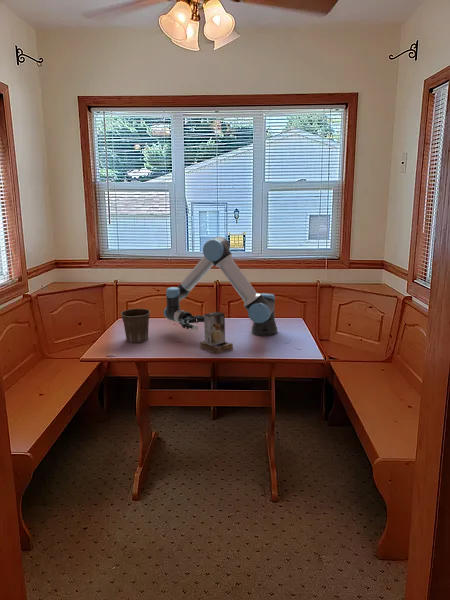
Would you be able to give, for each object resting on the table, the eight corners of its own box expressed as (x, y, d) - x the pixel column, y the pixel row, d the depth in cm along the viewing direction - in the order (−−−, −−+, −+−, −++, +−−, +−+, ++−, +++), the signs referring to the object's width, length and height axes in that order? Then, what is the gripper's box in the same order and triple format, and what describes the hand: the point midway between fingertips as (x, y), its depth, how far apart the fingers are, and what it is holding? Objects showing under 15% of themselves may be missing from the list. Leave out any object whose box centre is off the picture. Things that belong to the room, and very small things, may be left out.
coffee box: (218, 339, 239) (218, 311, 235) (225, 342, 234) (225, 313, 230) (204, 343, 234) (203, 313, 230) (211, 346, 229) (210, 316, 225)
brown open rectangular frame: (215, 342, 244) (215, 337, 243) (233, 349, 233) (233, 343, 232) (199, 346, 237) (198, 341, 236) (217, 354, 226) (217, 348, 225)
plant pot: (145, 345, 240) (143, 316, 236) (117, 343, 243) (115, 315, 240) (155, 336, 256) (154, 309, 252) (129, 334, 259) (128, 308, 255)
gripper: (200, 319, 261) (224, 327, 245) (165, 328, 245) (188, 337, 229) (200, 307, 259) (224, 314, 244) (164, 315, 243) (188, 323, 227)
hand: (207, 325), depth 236 cm, fingers open, 13 cm apart
